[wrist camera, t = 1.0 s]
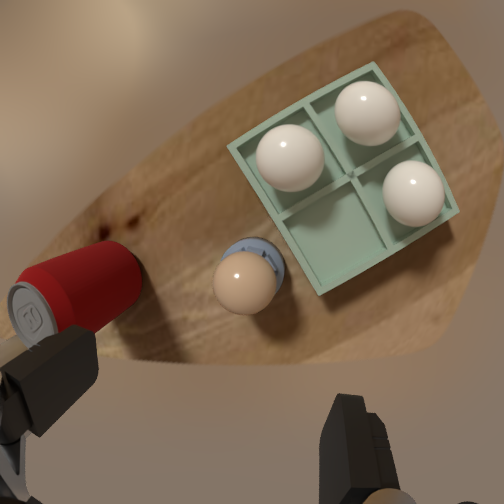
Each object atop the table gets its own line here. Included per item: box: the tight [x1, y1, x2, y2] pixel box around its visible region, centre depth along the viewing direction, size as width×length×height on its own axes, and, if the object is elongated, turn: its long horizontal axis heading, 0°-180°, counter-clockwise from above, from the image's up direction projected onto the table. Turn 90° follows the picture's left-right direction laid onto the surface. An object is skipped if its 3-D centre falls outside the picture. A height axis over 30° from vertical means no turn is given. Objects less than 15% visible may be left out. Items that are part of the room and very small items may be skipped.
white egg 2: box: [334, 81, 401, 146], centre depth 18 cm, size 4×4×4 cm
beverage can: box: [7, 241, 142, 349], centre depth 22 cm, size 7×7×12 cm
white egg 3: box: [382, 160, 445, 227], centre depth 18 cm, size 4×4×4 cm
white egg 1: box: [256, 124, 325, 192], centre depth 19 cm, size 4×4×4 cm
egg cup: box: [221, 237, 285, 294], centre depth 24 cm, size 5×5×3 cm
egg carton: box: [227, 62, 460, 296], centre depth 21 cm, size 12×12×3 cm
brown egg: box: [212, 251, 277, 315], centre depth 21 cm, size 4×4×4 cm
